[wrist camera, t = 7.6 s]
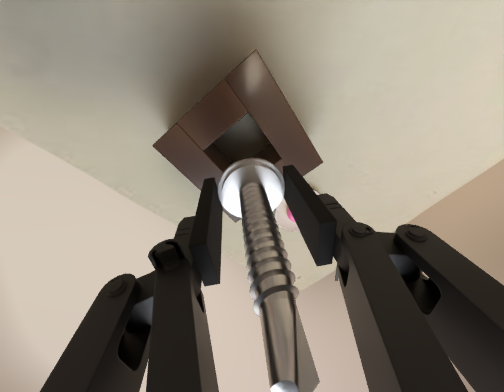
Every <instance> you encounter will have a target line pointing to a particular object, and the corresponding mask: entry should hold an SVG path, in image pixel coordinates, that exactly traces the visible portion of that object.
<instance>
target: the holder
mask: <svg viewBox="0 0 504 392" xmlns="http://www.w3.org/2000/svg"><path fill="white" fill-rule="evenodd" d="M248 112H249V113H250V115H251V116H252V117H253V119H254V120H255V122H256V123H257V124H258V126H259V127H260V129H261V130H262V131H263V133H264V134H265V136H266V137H267V138H268V140H269V141H270V143H271V145H269V146H268V147H267V148H265V149H264V150H263V151H261V152H260V153H259V154H258V155H256V156H255V157H254V158H260V159H264V160H267V161H269V162H270V163H272V164H273V165H274V166H276V167H277V168H278V170H279V171H280V173H281V174H282V176H283V166H287V165H294V167H295V168H296V169H297V170H298V172H299V173H300V174H301V175H302V177H303V176H304V175H306V174H307V173H309V172H310V171H311V170H313V169H314V168H316V167H317V166H319V165H320V164H322V163H323V161H322V159H321V158H320V156H319V154H318V153H317V151H316V149H315V148H314V146H313V144H312V143H311V141H310V139H309V137H308V136H307V134H306V132H305V131H304V129H303V127H302V126H301V124H300V122H299V121H298V119H297V117H296V116H295V114H294V112H293V110H292V109H291V107H290V105H289V104H288V102H287V100H286V99H285V97H284V95H283V94H282V92H281V90H280V88H279V87H278V85H277V83H276V82H275V80H274V78H273V77H272V75H271V73H270V72H269V70H268V68H267V67H266V65H265V63H264V61H263V60H262V58H261V56H260V55H259V53H258V51H257V50H255V51H253V52H252V53H251V54H250V55H249V56H248V57H247V58H246V59H245V60H244V61H243V62H242V63H241V64H239V65H238V66H237V67H236V68H235V69H234V70H233V71H232V72H231V73H230V74H229V75H228V76H227V77H225V79H223V80H222V81H221V82H220V83H219V84H218V85H217V86H216V87H215V88H214V89H213V90H211V91H210V92H209V93H208V94H207V95H206V96H205V97H204V98H203V99H202V100H201V101H200V102H199V103H197V104H196V105H195V106H194V107H193V108H192V109H191V110H190V111H189V112H188V113H187V114H186V115H185V116H183V117H182V118H181V119H180V120H179V121H178V122H177V123H176V124H175V125H174V126H173V127H172V128H171V129H169V130H168V131H167V132H166V133H165V134H164V135H163V136H162V137H161V138H160V139H159V140H158V141H157V142H155V143H154V144H153V147H154V148H155V149H156V150H157V151H159V152H160V153H161V154H162V155H163V156H164V157H165V158H166V159H167V160H168V161H169V162H170V163H172V164H173V165H174V166H175V167H176V168H177V169H178V170H179V171H180V172H181V173H182V174H183V175H185V176H186V177H187V178H188V179H189V180H190V181H191V182H192V183H193V184H194V185H195V186H196V187H198V188H199V189H200V190H202V186H203V181H204V179H207V178H213V177H215V180H216V184H217V188H218V183H219V180H220V177H221V175H222V174H223V172H224V171H225V170H226V169H227V168H228V167H229V166H230V165H231V164H232V163H231V162H230V161H229V160H228V159H227V158H226V157H225V156H224V154H223V153H222V152H221V151H220V150H219V149H218V148H217V147H216V145H215V144H214V143H213V142H214V141H215V140H216V139H217V138H219V137H220V136H221V135H222V134H223V133H224V132H226V131H227V130H228V129H229V128H230V127H232V126H233V125H234V124H235V123H236V122H237V121H239V120H240V119H241V118H242V117H243V116H245V115H246V114H247V113H248ZM222 208H223V211H224V212H225V213H226V214H227V215H228V216H229V217H230V218H231V219H232V220H233V221H234V222H237V221H239V220H240V219H242V218H241V217H237V216H235V215H233V214H231V213H230V212H228V211H227V210H226V209H225V208H224V207H223V205H222Z"/></svg>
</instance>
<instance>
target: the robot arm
mask: <svg viewBox="0 0 504 392" xmlns="http://www.w3.org/2000/svg"><path fill="white" fill-rule="evenodd" d="M283 179H284V183H285V191H284V199H285V201H286V203H287V205H288V208H289V210H290V212H291V214H292V216H293V218H294V220H295V222H296V224H297V226H298V228H299V230H300V232H301V234H302V236H303V238H304V241H305V243H306V245H307V247H308V249H309V251H310V253H311V255H312V257H313V259H314V261H315V263H316V265H317V266H322V265H327V264H332V259H333V257H334V258H335V260H336V261H337V267H336V275H335V280H336V281H338V277H339V281H340V285H341V288H342V292H343V295H344V299H345V303H346V307H347V310H348V314H349V318H350V322H351V325H352V329H353V332H354V337H355V340H356V344H357V347H358V351H359V355H360V358H361V362H362V366H363V370H364V373H365V377H366V381H367V385H368V388H369V392H468V391H467V389H466V387H465V385H464V384H463V382H462V380H461V379H460V377H459V375H458V373H457V372H456V370H455V368H454V367H453V365H452V363H453V364H454V365H455V366H456V368H457V369H458V370H459V371H460V373H461V374H462V375H463V376H464V377H465V379H466V380H467V381H468V383H469V384H470V385H471V386H472V388H473V389H474V390H475V391H476V392H504V286H503V285H502V284H501V283H499V282H498V281H497V280H495V279H494V278H493V277H491V276H490V275H489V274H487V273H486V272H485V271H483V270H482V269H481V268H479V267H478V266H476V265H475V264H474V263H473V262H471V261H470V260H468V259H467V258H466V257H464V256H463V255H462V254H460V253H459V252H458V251H456V250H455V249H454V248H452V247H451V246H450V245H448V244H447V243H445V242H444V241H443V240H441V239H440V238H439V237H438V236H436V235H435V234H433V233H432V232H431V231H429V230H427V229H425V228H423V227H420V226H416V225H411V224H404V225H401V226H398V228H397V229H396V232H395V233H385V232H375V231H374V230H373V229H372V228H371V227H370V226H368V225H366V224H363V223H360V222H356V221H355V220H354V219H353V218H352V217H351V216H350V214H349V213H348V212H347V211H346V210H345V209H344V208H342V206H341V205H340V204H339V203H338V201H337V200H336V199H335V198H334V197H332V196H330V195H328V194H320V195H317V194H316V193H315V192H314V191H313V189H312V188H311V187H310V185H309V184H308V183H307V182H306V180H305V179H304V178H303V177H302V175H301V174H300V173H299V172H298V170H297V169H296V168H295V167H294V165H287V166H283ZM222 211H223V208H222V204H221V202H220V200H219V196H218V188H217V184H216V180H215V177H213V178H207V179H204V181H203V186H202V190H201V194H200V198H199V202H198V207H197V211H196V215H195V216H191V217H186V218H184V219H183V220H182V221H181V222H180V223H179V225H178V228H177V231H176V234H175V237H174V239H168V240H165V241H162V242H160V243H158V244H157V245H156V246H154V247H153V248H152V250H151V251H150V252H149V254H148V258H149V259H150V261H151V262H152V265H153V266H154V268H155V271H153V272H151V273H149V274H147V275H144V276H142V277H140V278H137V279H136V278H135V276H134V275H132V274H123V275H119V276H117V277H115V278H114V279H112V280H110V281H109V282H108V283H107V284H106V285H105V286H104V287H103V288H102V289H101V291H100V292H99V294H98V296H97V297H96V299H95V301H94V302H93V304H92V306H91V307H90V309H89V311H88V312H87V314H86V316H85V317H84V319H83V321H82V322H81V324H80V326H79V327H78V329H77V331H76V332H75V334H74V336H73V337H72V339H71V341H70V342H69V344H68V346H67V348H66V349H65V351H64V352H63V354H62V356H61V357H60V359H59V361H58V362H57V364H56V366H55V367H54V369H53V371H52V372H51V374H50V376H49V377H48V379H47V381H46V382H45V384H44V386H43V387H42V389H41V391H40V392H139V391H140V387H141V383H142V380H143V376H144V373H145V369H146V366H147V362H148V373H147V386H146V392H219V390H218V384H217V377H216V372H215V365H214V359H213V353H212V346H211V340H210V334H209V329H208V323H207V316H206V310H205V304H204V297H203V293H202V291H201V282H202V281H203V284H204V286H209V285H215V284H220V267H221V239H222ZM422 272H424V273H425V274H426V275H427V276H428V277H429V278H427V277H425V276H424V275H423V274H422ZM148 358H149V361H148ZM449 359H450V360H451V361H452V363H451V361H450V360H449Z"/></svg>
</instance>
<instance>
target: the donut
mask: <svg viewBox="0 0 504 392" xmlns="http://www.w3.org/2000/svg"><path fill="white" fill-rule="evenodd" d="M313 191H314V192H315V193H316V194H317V195H320V194H319V193H318V192H316V191H315V190H313ZM275 218H276V222H277V223H278V225H279V226H280V227H281V228H283V229H284V230H287V231H292V232H294V231H300V230H299V228H298V226H297V224H296V222H295V220H294V218H293V216H292V214H291V212H290V210H289V208H288V205H287V203H286V201H285V199H284V197H283V198H282V200H281V202H280V203H279V205H278V206H277V208H276V212H275Z"/></svg>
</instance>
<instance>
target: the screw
mask: <svg viewBox="0 0 504 392" xmlns="http://www.w3.org/2000/svg"><path fill="white" fill-rule="evenodd" d="M284 191H285V183H284V179H283V176H282V174H281V173H280V171H279V170H278V168H277V167H276V166H274V165H273V164H272V163H270V162H269V161H267V160H264V159H260V158H245V159H241V160H239V161H236V162H234V163H233V164H231V165H230V166H229V167H228V168H227V169H226V170H225V171H224V172H223V174H222V175H221V177H220V180H219V183H218V196H219V200H220V202H221V204H222V205H223V207H224V208H225V209H226V210H227V211H228V212H230V213H231V214H233V215H235V216H237V217H241V218H242V226H243V234H244V242H245V245H244V247H245V251H246V254H245V257H246V260H247V271H248V272H249V273H248V281H249V284H250V285H251V286H250V295H251V297H252V299H253V300H254V305H253V309H254V312H255V314H256V315H257V316H259V317H260V319H261V326H262V333H263V340H264V348H265V355H266V362H267V369H268V376H269V383H270V390H271V391H272V392H313V391H314V390H315V388H316V387H317V385H318V384H319V382H320V381H319V378H318V375H317V371H316V368H315V365H314V361H313V358H312V355H311V352H310V348H309V345H308V342H307V339H306V335H305V332H304V329H303V326H302V322H301V319H300V316H299V313H298V309H297V306H296V300H295V299H296V298H297V296H298V295H299V290H298V289H297V288H296V287H295V286H293V283H294V282H295V275H294V273H293V272H291V271H290V269H291V263H290V261H289V260H288V259H287V256H288V255H287V252H286V250H285V249H284V243H283V241H282V240H281V234H280V232H279V228H278V226H277V224H276V220H275V218H274V214H273V212H272V211H273V210H274V209H275V208H276V207H277V206H278V205H279V203H280V202H281V200H282V198H283V196H284Z"/></svg>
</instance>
